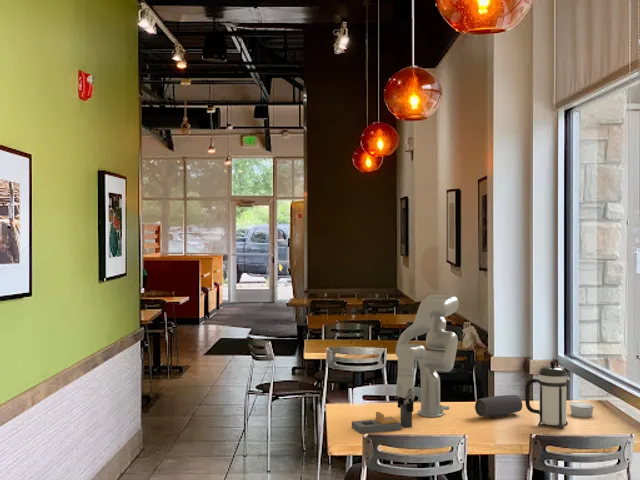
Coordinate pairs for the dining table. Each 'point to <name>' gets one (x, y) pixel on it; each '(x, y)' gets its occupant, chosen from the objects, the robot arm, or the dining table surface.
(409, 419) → the dark grey square bottle
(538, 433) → the dining table surface
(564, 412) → the coffee press
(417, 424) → the dining table surface
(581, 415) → the ramekin
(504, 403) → the bluetooth speaker
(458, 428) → the dining table surface
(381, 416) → the orange l-shaped block
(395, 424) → the socket block
